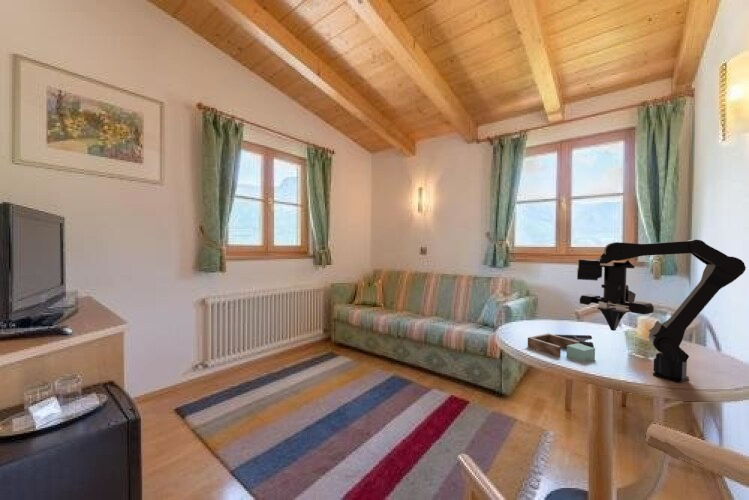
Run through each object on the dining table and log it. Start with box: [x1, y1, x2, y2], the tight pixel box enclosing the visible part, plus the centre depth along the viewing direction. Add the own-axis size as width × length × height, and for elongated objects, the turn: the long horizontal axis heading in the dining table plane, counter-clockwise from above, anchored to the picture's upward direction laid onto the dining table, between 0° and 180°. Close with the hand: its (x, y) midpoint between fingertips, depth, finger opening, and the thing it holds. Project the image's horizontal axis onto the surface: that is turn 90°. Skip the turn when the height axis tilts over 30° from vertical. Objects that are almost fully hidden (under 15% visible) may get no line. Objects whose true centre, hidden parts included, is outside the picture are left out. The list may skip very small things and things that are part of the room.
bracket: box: [555, 334, 595, 348], centre depth 131 cm, size 14×15×3 cm
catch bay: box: [527, 332, 581, 358], centre depth 123 cm, size 12×12×4 cm
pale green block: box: [566, 343, 596, 363], centre depth 114 cm, size 6×6×4 cm
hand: (613, 330), depth 105 cm, fingers closed
